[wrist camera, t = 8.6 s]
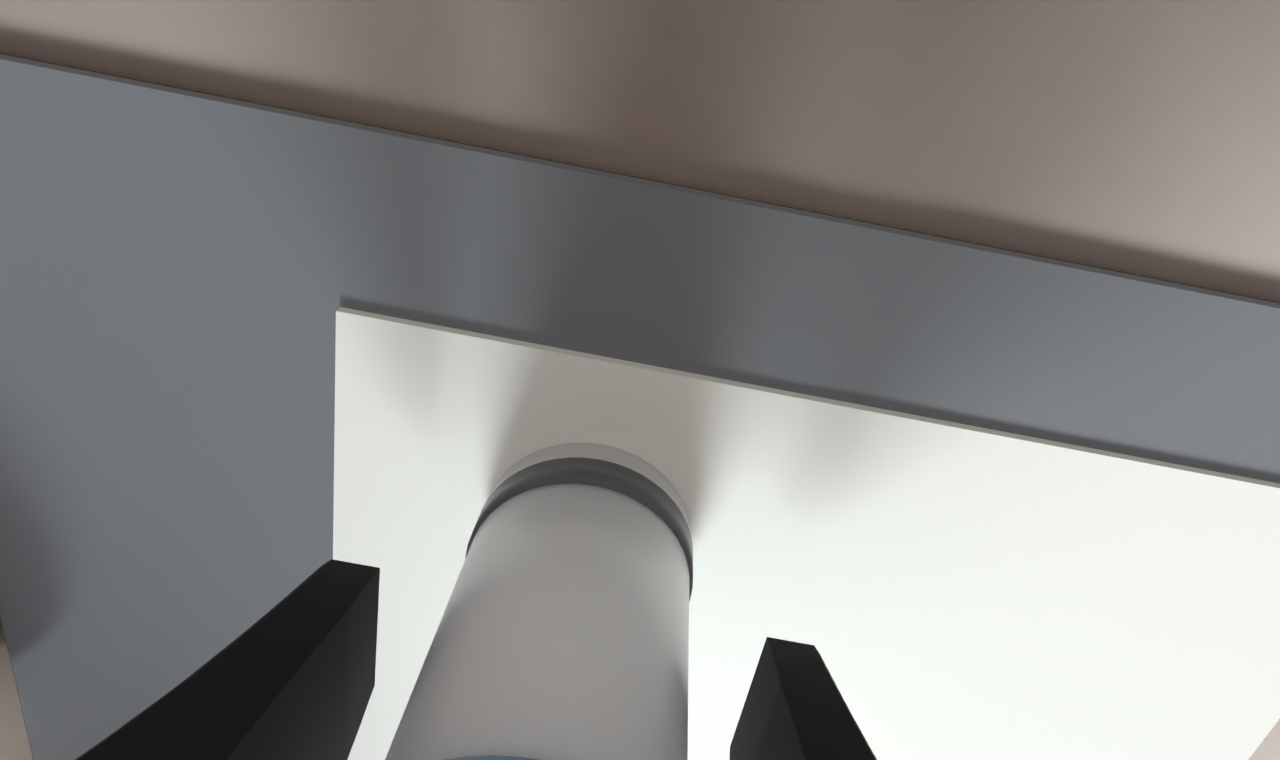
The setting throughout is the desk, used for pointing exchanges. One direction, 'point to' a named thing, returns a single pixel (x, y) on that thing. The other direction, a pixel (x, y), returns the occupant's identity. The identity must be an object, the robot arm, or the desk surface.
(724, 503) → the paper
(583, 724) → the marker
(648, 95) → the desk surface
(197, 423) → the desk mat
